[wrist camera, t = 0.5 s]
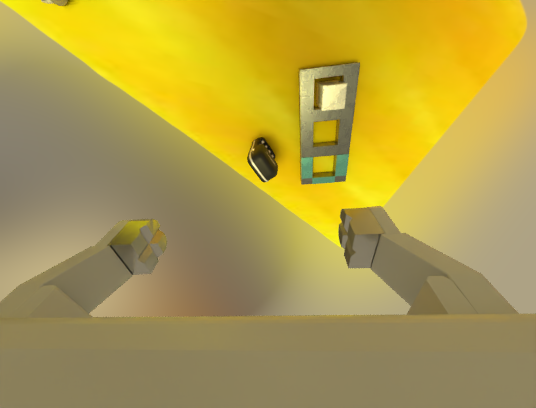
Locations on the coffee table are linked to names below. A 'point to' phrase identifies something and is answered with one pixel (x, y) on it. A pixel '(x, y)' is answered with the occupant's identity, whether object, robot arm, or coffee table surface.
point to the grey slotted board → (315, 114)
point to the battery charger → (262, 160)
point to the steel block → (330, 94)
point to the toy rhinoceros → (56, 2)
